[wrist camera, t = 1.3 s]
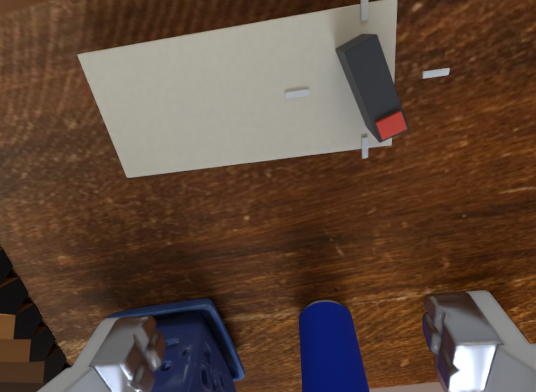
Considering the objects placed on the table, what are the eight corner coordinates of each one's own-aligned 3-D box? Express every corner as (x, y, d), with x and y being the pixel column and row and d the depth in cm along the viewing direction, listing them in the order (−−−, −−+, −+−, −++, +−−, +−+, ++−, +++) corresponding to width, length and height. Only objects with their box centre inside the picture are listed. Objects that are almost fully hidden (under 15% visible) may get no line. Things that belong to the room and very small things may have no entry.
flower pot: (97, 298, 31) (1, 435, 20) (220, 277, 29) (183, 418, 18) (153, 375, 37) (101, 512, 26) (258, 362, 35) (247, 506, 24)
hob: (437, -21, 17) (461, -29, 15) (423, 136, 22) (440, 149, 19) (95, 41, 20) (69, 42, 17) (144, 171, 24) (128, 187, 22)
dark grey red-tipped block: (334, 48, 17) (345, 52, 14) (362, 33, 16) (378, 33, 14) (366, 127, 19) (381, 144, 16) (391, 115, 18) (411, 130, 16)
